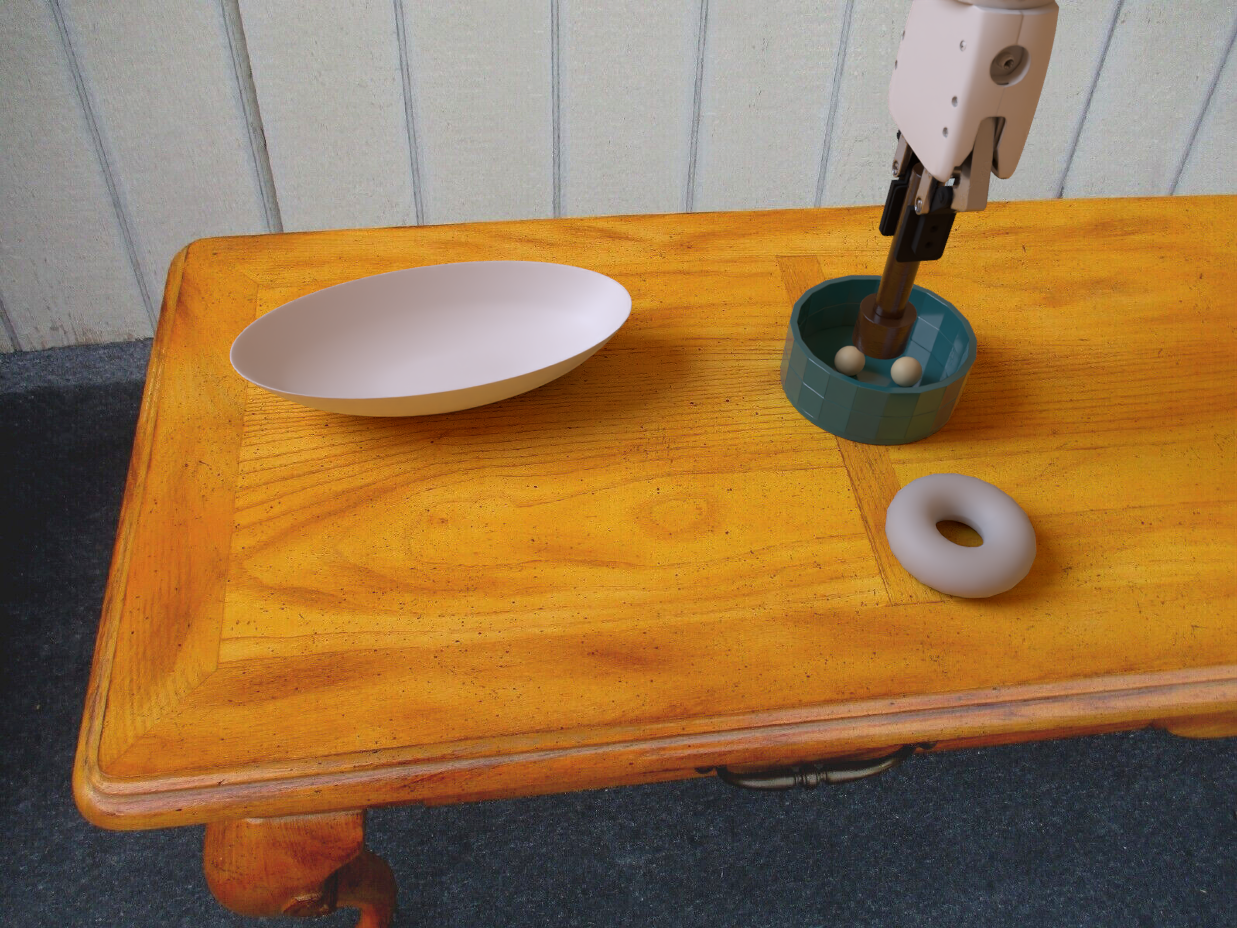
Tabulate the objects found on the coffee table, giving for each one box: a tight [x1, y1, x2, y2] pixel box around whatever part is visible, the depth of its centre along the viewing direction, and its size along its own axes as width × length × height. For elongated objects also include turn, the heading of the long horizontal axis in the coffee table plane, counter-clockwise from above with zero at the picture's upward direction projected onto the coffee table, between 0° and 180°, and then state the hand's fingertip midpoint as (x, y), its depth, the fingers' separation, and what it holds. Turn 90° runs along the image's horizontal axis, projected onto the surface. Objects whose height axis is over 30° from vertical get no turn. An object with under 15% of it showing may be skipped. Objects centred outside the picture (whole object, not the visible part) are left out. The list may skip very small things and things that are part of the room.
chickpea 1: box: [835, 346, 865, 376], centre depth 77 cm, size 2×2×2 cm
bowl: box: [229, 260, 633, 418], centre depth 74 cm, size 30×15×6 cm, turn 106°
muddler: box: [852, 162, 947, 360], centre depth 65 cm, size 4×4×14 cm
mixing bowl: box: [779, 274, 978, 446], centre depth 76 cm, size 14×14×6 cm
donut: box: [884, 472, 1037, 599], centre depth 65 cm, size 10×4×10 cm
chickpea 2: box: [891, 357, 922, 387], centre depth 76 cm, size 2×2×2 cm
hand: (909, 243), depth 64 cm, fingers closed on muddler, 2 cm apart
